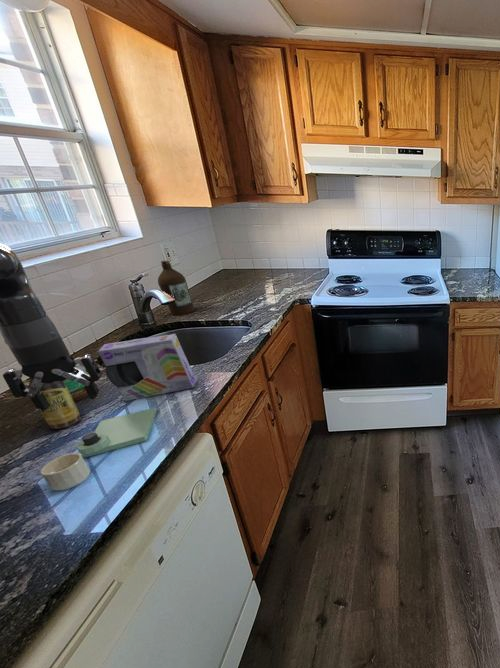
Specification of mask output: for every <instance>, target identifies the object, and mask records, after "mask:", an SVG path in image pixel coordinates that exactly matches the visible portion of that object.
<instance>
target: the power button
mask: <svg viewBox="0 0 500 668" xmlns="http://www.w3.org/2000/svg"><path fill="white" fill-rule="evenodd" d="M81 441H83V442H84V443H85V445H86V446H90V445H93V444H95V443H97V442H98V441H100V439H99V437H98V436H97V434H96V433H95V431H93V432H89V433H87V434H85V435H83V436H82V437H81Z"/></svg>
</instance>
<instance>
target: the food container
mask: <svg viewBox="0 0 500 668" xmlns="http://www.w3.org/2000/svg"><path fill="white" fill-rule="evenodd" d="M75 368H78V369H80V370H82V371H83V372H84V373H85V374H87V375H88V372H87V370H86V369H85V367H82V366H81V365H80V364H76V365H75ZM72 374H73V373H72ZM74 375H75V374H74ZM63 382H64V384H65V386H66V387H67V389H68V391H69V393H70V395H71V397H72V399H73V401H74V403H75V402H77V401H78V402H79V401H80V400H83V399H84V398H86V397H89V395H88V394H87V392H86V390H85V388H84V386H85V385H83V384H81V383H79V382H73V381H71V380H69V379H66V380H63Z"/></svg>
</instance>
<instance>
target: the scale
mask: <svg viewBox="0 0 500 668" xmlns="http://www.w3.org/2000/svg"><path fill="white" fill-rule="evenodd" d="M156 414H157V409H156V407H152V408H147V409H144V410H139V411H136V412H135V411H134V412H132V413H127V414H123V415H119V416H115V417H110V418H105V419H103V420H100V421H99V423H98V425H97V426H96V428H95V430H94V432H95V433H96V434H97V436H98V437H99V439H100V441H98V442H97V443H95V444H93V445H90V446H86V445H85V443H84V442H83V440H81V441H80V442H79V443H77V446H76V449H77V451H78V453H79V454H81V455H82V456H83V458H88V457H93V456H96V455H99V454H103V453H107V452H110V451H114V450H118V449H122V448H125V447H128V446H132V445H136V444H140V443H143V442H146V441H147V440H148V437H149V435H150V431H151V428H152V425H153V423H154V421H155V420H154V419H155V417H156Z"/></svg>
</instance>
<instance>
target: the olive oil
mask: <svg viewBox="0 0 500 668" xmlns="http://www.w3.org/2000/svg"><path fill="white" fill-rule="evenodd" d="M160 264H161V268H162V271H161V273H160V274H159V275H158V277H157V284H158V286H159V288H160V291H161V290H162V291H165V292H166V293H168V294H170V295H172V296H174V297H175V301H174V302H173V303H169V304H167V307H168V309H169V312H170V314H171V315H173V316H180V315H187V314H189V313H192V312H194V311H195V307H194V304H193V301H192V298H191V297H192V296H191V294H190V291H189V290H190V289H189V286H188V283H187V280H186V277H185V276H184V275H183V274H182V272H179V271H177V270H176V269H174V268H173V267H172V264H171V263H170V260H169V259H166V260H165V259H164V260H161V261H160ZM162 291H161V292H162Z"/></svg>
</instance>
